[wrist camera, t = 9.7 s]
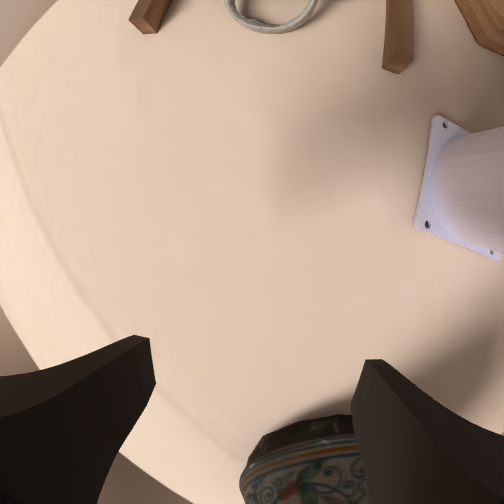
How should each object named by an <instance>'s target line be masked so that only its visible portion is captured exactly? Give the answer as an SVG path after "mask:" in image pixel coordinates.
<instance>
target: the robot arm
mask: <svg viewBox="0 0 504 504" xmlns="http://www.w3.org/2000/svg"><path fill="white" fill-rule="evenodd" d="M443 123H444V124H445V126H446V128H444V127H443ZM426 221H428V226H427V227H426V228H425V222H426ZM413 223H414V226H415V228H417V229H419V230H421V231H424V232H427V233H430V234H432V235H435V236H438V237H440V238H443V239H446V240H448V241H451V242H453V243H456V244H458V245H461V246H463V247H466V248H468V249H471V250H473V251H475V252H478V253H480V254H482V255H485V256H487V257H489V258H492V259H494V260H496V261H499V260H500V259H501V258H502V255H503V254H504V126H502V127H498V128H493V129H489V130H485V131H480V132H476V133H472V134H471V133H469V132H468V131H466V130H464V129H463V128H461V127H459V126H458V125H456V124H454V123H452V122H451V121H449V120H447V119H445V118H443V117H441V116H439V115H436V116H434V117H433V118H432V121H431V130H430V138H429V145H428V152H427V158H426V164H425V170H424V175H423V180H422V185H421V190H420V195H419V199H418V204H417V208H416V212H415V216H414V221H413ZM490 251H491V253H490ZM155 385H156V381H155V375H154V369H153V362H152V355H151V348H150V340H149V338H146V337H141V336H137V335H132V336H129V337H127V338H124V339H122V340H119V341H117V342H115V343H112V344H110V345H108V346H105V347H103V348H101V349H98V350H96V351H94V352H91V353H89V354H87V355H84V356H82V357H79V358H76V359H74V360H71V361H68V362H66V363H63V364H60V365H57V366H54V367H50V368H47V369H43V370H39V371H35V372H30V373H24V374H17V375H10V376H0V504H97V501H98V498H99V495H100V492H101V490H102V487H103V484H104V482H105V479H106V477H107V474H108V472H109V470H110V467H111V465H112V463H113V461H114V458H115V456H116V455H117V453H118V451H119V449H120V448H121V446H122V444H123V443H124V441H125V440H126V438H127V436H128V435H129V433H130V432H131V430H132V428H133V427H134V425H135V424H136V422H137V420H138V419H139V417H140V416H141V414H142V412H143V411H144V409H145V407H146V406H147V403H148V401H149V399H150V397H151V394H152V392H153V390H154V387H155ZM351 412H352V421H353V429H354V433H355V437H356V441H357V445H358V449H359V453H360V457H361V461H362V466H363V470H364V474H365V478H366V484H367V491H368V504H504V436H503V435H500V434H497V433H494V432H492V431H489V430H487V429H484V428H482V427H480V426H477V425H475V424H473V423H471V422H469V421H468V420H466V419H464V418H462V417H460V416H458V415H457V414H455V413H453V412H452V411H450V410H449V409H447V408H446V407H444V406H443V405H441V404H440V403H438V402H437V401H435V400H434V399H433V398H431V397H430V396H429V395H427V394H426V393H425V392H423V391H422V390H421V389H419V388H418V387H417V386H416V385H414V384H413V383H412V382H411V381H409V380H408V379H407V378H406V377H404V376H403V375H402V374H401V373H400V372H398V371H397V370H396V369H395V368H393V367H392V366H391V365H389V364H388V363H387V362H385V361H384V360H382V359H373V360H365V363H364V366H363V370H362V373H361V376H360V379H359V382H358V385H357V388H356V391H355V394H354V396H353V399H352V402H351Z"/></svg>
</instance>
